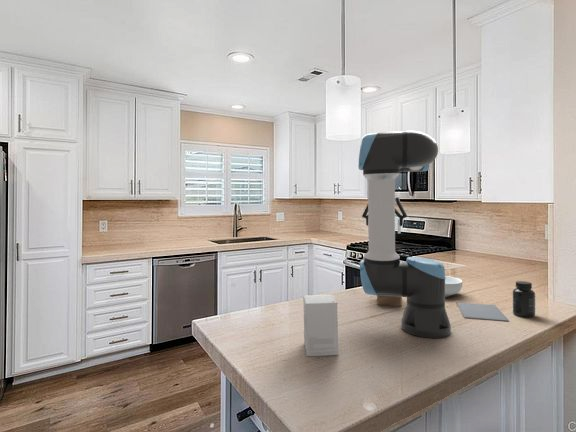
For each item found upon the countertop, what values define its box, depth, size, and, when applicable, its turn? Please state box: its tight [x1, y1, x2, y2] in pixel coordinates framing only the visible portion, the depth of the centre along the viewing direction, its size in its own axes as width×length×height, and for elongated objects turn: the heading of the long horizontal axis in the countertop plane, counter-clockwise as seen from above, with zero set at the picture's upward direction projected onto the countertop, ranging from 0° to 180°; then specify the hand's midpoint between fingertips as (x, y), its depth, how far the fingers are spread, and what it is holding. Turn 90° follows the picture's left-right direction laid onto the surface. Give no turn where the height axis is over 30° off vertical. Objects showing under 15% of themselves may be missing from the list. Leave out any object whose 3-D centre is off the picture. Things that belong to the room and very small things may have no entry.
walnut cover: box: [376, 296, 403, 307], centre depth 142 cm, size 10×10×10 cm
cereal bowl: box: [445, 275, 463, 298], centre depth 153 cm, size 17×17×7 cm
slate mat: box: [455, 302, 510, 322], centre depth 128 cm, size 18×14×1 cm
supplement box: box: [302, 294, 339, 357], centre depth 98 cm, size 9×9×15 cm
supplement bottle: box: [512, 280, 536, 319], centre depth 124 cm, size 7×7×12 cm
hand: (384, 233), depth 159 cm, fingers open, 13 cm apart
